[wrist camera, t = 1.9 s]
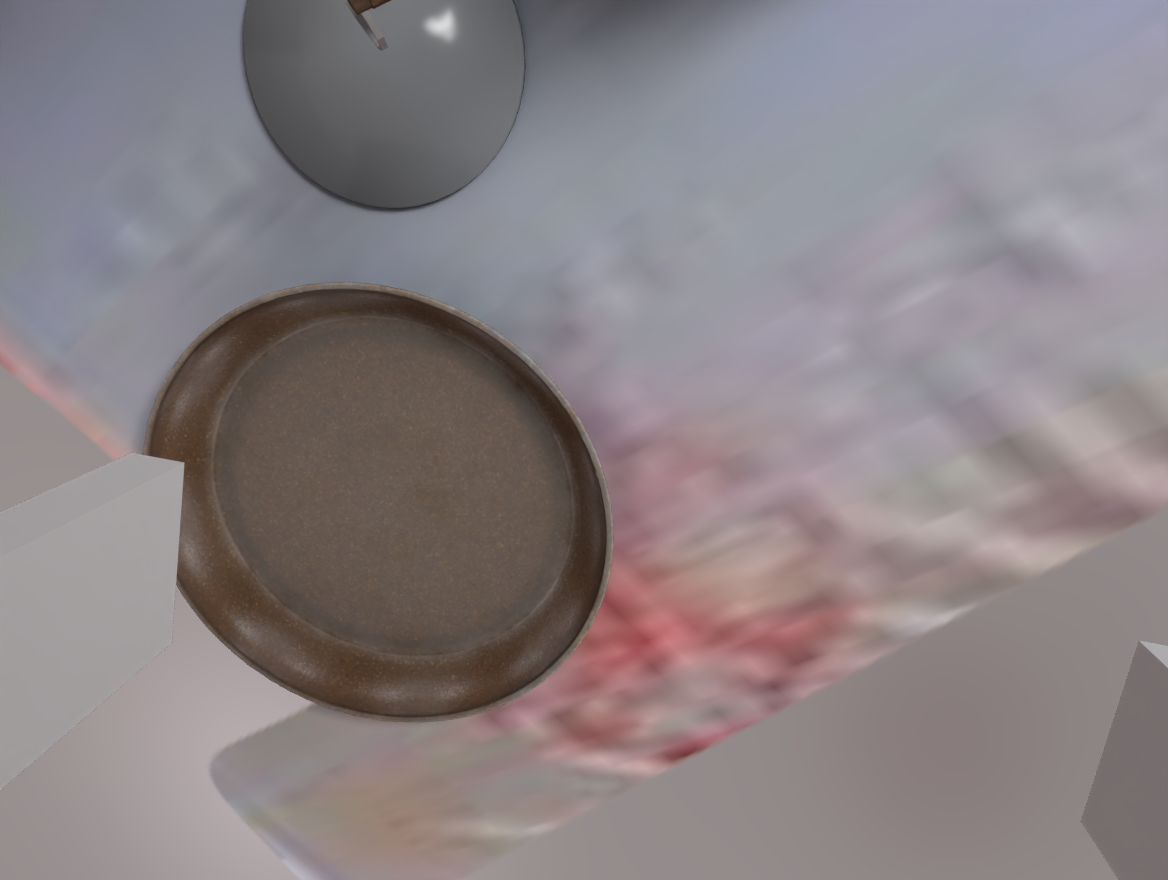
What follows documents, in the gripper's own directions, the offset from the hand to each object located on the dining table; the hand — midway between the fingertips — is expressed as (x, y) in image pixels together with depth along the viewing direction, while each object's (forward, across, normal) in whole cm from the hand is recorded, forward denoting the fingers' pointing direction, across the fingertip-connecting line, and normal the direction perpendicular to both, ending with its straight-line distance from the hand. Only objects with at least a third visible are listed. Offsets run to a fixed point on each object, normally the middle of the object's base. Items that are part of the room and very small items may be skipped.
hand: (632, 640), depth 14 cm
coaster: (+27, -12, +9) cm, 31 cm away
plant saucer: (+30, -11, -9) cm, 33 cm away
